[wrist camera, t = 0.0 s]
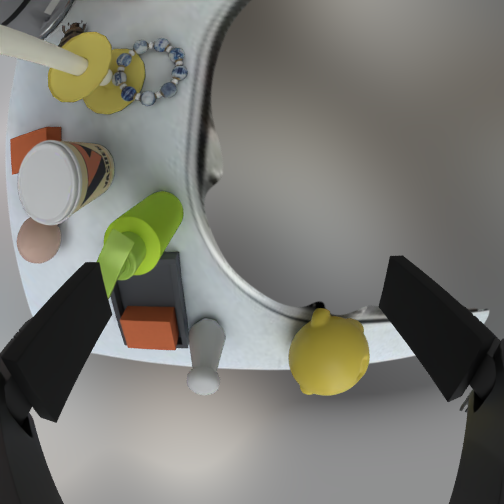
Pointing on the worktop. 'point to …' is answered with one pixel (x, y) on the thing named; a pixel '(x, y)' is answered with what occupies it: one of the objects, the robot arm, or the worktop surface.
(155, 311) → the seated pad
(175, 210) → the soap dispenser
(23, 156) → the loose pad
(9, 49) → the yellow disc white stick
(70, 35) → the insect
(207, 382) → the salt shaker
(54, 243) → the egg
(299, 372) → the sculpture
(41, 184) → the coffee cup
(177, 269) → the pad frame
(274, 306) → the worktop surface
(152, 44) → the bracelet
